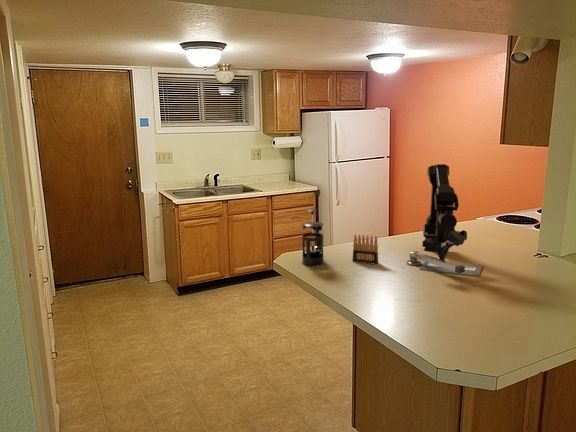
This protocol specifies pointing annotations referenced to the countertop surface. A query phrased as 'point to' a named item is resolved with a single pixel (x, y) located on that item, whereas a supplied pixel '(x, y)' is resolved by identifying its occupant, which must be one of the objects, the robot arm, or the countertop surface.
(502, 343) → the countertop surface
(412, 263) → the pivot post
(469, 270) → the label board
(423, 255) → the cable arm
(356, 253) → the ammunition clip
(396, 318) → the countertop surface
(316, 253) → the french press
